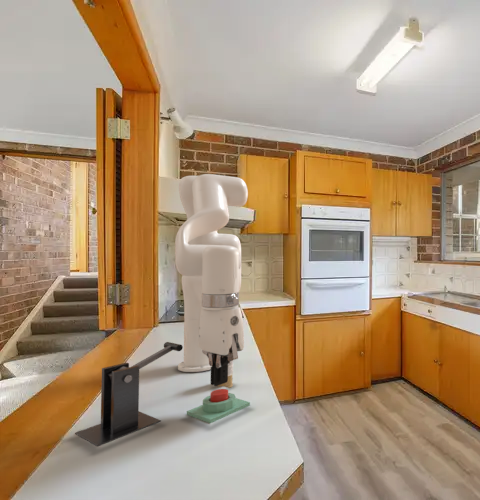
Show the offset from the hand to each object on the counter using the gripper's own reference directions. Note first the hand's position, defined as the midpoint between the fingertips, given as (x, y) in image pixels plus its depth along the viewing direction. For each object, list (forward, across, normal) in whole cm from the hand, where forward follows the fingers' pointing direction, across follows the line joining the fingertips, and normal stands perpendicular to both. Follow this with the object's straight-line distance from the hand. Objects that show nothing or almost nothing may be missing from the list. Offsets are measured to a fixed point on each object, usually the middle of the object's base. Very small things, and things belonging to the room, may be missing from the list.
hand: (219, 383), depth 78 cm
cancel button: (+4, -1, 0) cm, 4 cm away
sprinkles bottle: (+7, +12, -11) cm, 18 cm away
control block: (+7, -1, 0) cm, 7 cm away
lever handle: (-5, +10, +10) cm, 15 cm away
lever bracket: (+7, +9, +15) cm, 19 cm away
